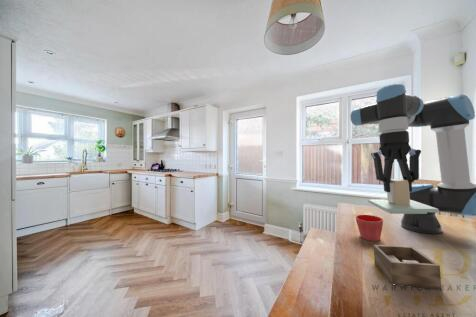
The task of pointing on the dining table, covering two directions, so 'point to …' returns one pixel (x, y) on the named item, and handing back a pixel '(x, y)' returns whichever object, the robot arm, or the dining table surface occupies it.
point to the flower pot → (369, 227)
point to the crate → (407, 266)
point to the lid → (402, 201)
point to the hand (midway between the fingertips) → (398, 201)
